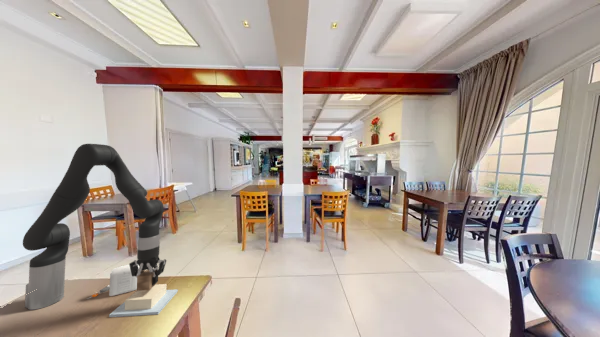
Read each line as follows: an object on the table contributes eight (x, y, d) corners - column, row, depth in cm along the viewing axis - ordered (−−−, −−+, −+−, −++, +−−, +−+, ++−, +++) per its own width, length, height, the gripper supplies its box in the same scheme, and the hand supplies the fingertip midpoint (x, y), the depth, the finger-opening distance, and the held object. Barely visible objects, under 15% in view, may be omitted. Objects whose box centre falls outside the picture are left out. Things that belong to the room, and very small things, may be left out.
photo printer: (139, 285, 91) (140, 260, 91) (137, 290, 87) (138, 264, 88) (110, 292, 85) (111, 266, 86) (107, 298, 82) (108, 270, 82)
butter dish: (109, 317, 71) (109, 304, 71) (137, 293, 85) (137, 282, 85) (158, 314, 73) (158, 301, 73) (177, 291, 87) (178, 281, 87)
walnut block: (136, 290, 76) (137, 276, 77) (145, 283, 81) (145, 270, 82) (149, 290, 77) (149, 275, 77) (157, 282, 82) (157, 269, 82)
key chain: (111, 285, 92) (111, 282, 92) (118, 285, 91) (118, 282, 91) (77, 303, 79) (77, 300, 79) (85, 304, 78) (85, 301, 78)
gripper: (123, 249, 75) (122, 291, 75) (160, 248, 77) (159, 289, 76) (137, 242, 83) (136, 280, 82) (171, 242, 84) (170, 278, 84)
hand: (147, 284), depth 79 cm, fingers closed on walnut block, 5 cm apart
